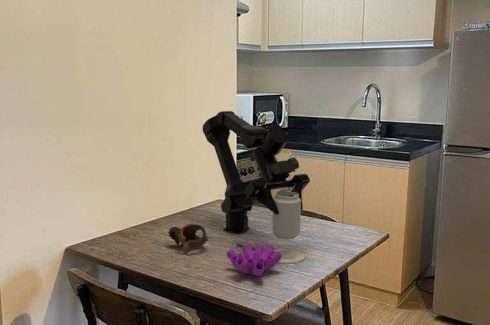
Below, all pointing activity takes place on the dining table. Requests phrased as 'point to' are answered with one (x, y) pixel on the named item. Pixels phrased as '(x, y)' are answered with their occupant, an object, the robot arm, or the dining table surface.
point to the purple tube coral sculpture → (254, 259)
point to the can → (287, 215)
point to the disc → (290, 256)
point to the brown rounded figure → (188, 237)
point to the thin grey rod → (243, 244)
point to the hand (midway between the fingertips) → (289, 212)
